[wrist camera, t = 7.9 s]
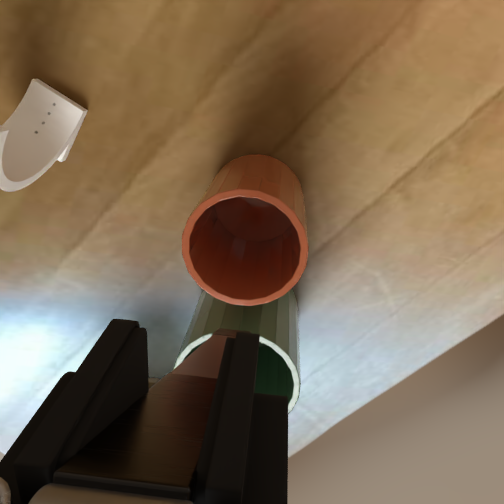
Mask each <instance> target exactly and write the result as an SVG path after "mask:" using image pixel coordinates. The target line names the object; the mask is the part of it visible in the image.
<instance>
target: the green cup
mask: <svg viewBox="0 0 504 504" xmlns="http://www.w3.org/2000/svg"><path fill="white" fill-rule="evenodd" d="M219 328H222V329H232V330H241V331H250V332H251V333H253V334H260V339H259V350H258V360H257V371H256V381H255V392H254V393H262V394H271V395H279V396H288V414H289V413H290V412H291V411H292V409H293V407H294V405H295V404H296V402H297V400H298V398H299V392H300V384H301V383H300V352H299V322H298V307H297V300H296V296H295V294H294V292H293V290H292V288H291V289H290V290H289V291H288V292H287V293H286V294H285V295H283V296H281V297H279V298H277V299H275V300H273V301H271V302H268V303H264V304H259V305H253V306H245V305H235V304H230V303H227V302H225V301H222V300H219V299H217V298H215V297H213V296H211V295H210V294H209V293H207V292H206V291H205V290H203V291H202V294H201V296H200V299H199V302H198V304H197V307H196V310H195V312H194V315H193V318H192V320H191V323H190V325H189V328H188V331H187V333H186V336H185V339H184V341H183V344H182V347H181V349H180V352H179V354H178V357H177V360H176V363H175V365H174V368H173V370H174V369H175V368H176V367H177V366H178V365H179V364H180V363H182V362H183V361H184V360H185V359H186V358H187V357H188V356H189V355H191V354H192V353H193V352H194V351H195V350H196V349H197V348H198V347H200V346H201V345H202V344H203V343H204V342H205V341H206V340H208V339H209V338H210V337H211V336H212V334H213V333H214V332H215V331H216V330H217V329H219Z"/></svg>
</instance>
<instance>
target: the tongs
mask: <svg viewBox="0 0 504 504" xmlns="http://www.w3.org/2000/svg"><path fill="white" fill-rule="evenodd" d="M237 332H244V333H251V332H250V331H241V330H232V329H222V328H219V329H217V330H216V331H215V332H214V333H213V334H212V336H211V337H210V338H209V339H208V340H206V341H205V342H204V343H203V344H202V345H201V346H200V347H198V348H197V349H196V350H195V351H194V352H193V353H192V354H191V355H189V356H188V357H187V358H186V359H185V360H184V361H183V362H182V363H180V364H179V365H178V366H177V367H176V368H175V369H174V370H173V371H171V372H170V373H168V374H166V375H165V376H164V377H163V378H161V379H160V380H159V381H158V382H157V383H156V384H154V385H153V386H152V387H151V388H150V389H149V390H148V391H147V392H146V393H145V394H144V395H142V396H141V397H140V398H139V399H138V400H137V401H136V402H134V403H133V404H132V405H131V406H130V407H129V408H128V409H126V410H125V411H124V412H123V413H122V414H121V415H120V416H118V417H117V418H116V419H115V420H114V421H113V422H112V423H110V424H109V425H108V426H107V427H106V428H105V429H104V430H102V431H101V432H100V433H99V434H98V435H97V436H96V437H94V438H93V439H92V440H91V441H90V442H89V443H88V444H86V445H85V446H84V447H83V448H82V449H81V450H80V451H78V452H77V453H76V454H75V455H73V456H72V457H70V458H69V459H68V460H67V461H66V462H65V463H64V464H62V465H61V466H60V467H59V468H58V469H57V470H55V472H54V474H53V480H52V483H50V484H47V485H45V486H43V487H42V488H40V489H39V490H38V491H37V492H36V494H35V495H34V496H33V497H32V499H31V500H30V502H29V503H28V504H195V493H196V484H197V477H198V475H197V470H196V468H197V464H198V459H199V455H200V451H201V446H202V442H203V438H204V433H205V429H206V425H207V420H208V416H209V412H210V408H211V403H212V399H213V395H214V390H215V386H216V382H217V377H218V373H219V369H220V364H221V360H222V356H223V352H224V347H225V343H226V339H227V337H231V338H236V333H237Z"/></svg>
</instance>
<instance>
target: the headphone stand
mask: <svg viewBox="0 0 504 504" xmlns="http://www.w3.org/2000/svg"><path fill="white" fill-rule="evenodd" d="M87 111H88V110H87V109H85V108H83V107H82V106H80V105H79V104H77V103H75V102H74V101H72V100H71V99H69V98H68V97H66V96H64V95H63V94H61V93H60V92H58V91H57V90H55V89H53V88H52V87H50V86H49V85H47V84H45V83H44V82H42V81H41V80H39V79H32V81H31V83H30V85H29V88H28V90H27V92H26V94H25V95H24V97H23V99H22V101H21V102H20V104H19V105H18V107H17V108H16V110H15V111H14V112H13V114H12V115H11V116H10V117H9V119H8V120H7V121H6V122H5V123H4V124H3V125H2V126H1V125H0V189H1V190H3V191H7V192H12V191H17V190H20V189H22V188H24V187H26V186H28V185H30V184H31V183H33V182H34V181H35V180H37V179H38V178H39V177H40V176H42V175H43V174H44V173H45V172H46V171H47V170H48V169H49V168H50V167H51V166H52V165H53V164H54V162H55V161H56V160H58V161H60V162H62V161H65V160H66V158H67V156H68V154H69V151H70V149H71V147H72V145H73V142H74V140H75V138H76V136H77V134H78V131H79V129H80V127H81V125H82V122H83V120H84V118H85V116H86V113H87Z"/></svg>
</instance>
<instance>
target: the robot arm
mask: <svg viewBox="0 0 504 504" xmlns="http://www.w3.org/2000/svg"><path fill="white" fill-rule="evenodd" d="M259 339H260V334H253V333H244V332H237V333H236V338H231V337H227V339H226V343H225V347H224V352H223V356H222V360H221V364H220V369H219V373H218V377H217V382H216V386H215V390H214V395H213V399H212V403H211V408H210V412H209V416H208V420H207V425H206V429H205V433H204V438H203V442H202V446H201V451H200V455H199V459H198V464H197V468H196V470H197V475H198V477H197V484H196V493H195V504H287V477H288V476H287V475H288V473H287V472H288V469H287V468H288V396H279V395H271V394H262V393H254V392H255V381H256V371H257V360H258V350H259ZM148 390H149V380H148V350H147V331H146V329H145V328H140V325H139V322H138V321H132V320H123V319H113V320H112V321H111V322H110V323H109V325H108V326H107V328H106V329H105V330H104V332H103V333H102V335H101V336H100V338H99V339H98V341H97V342H96V344H95V345H94V346H93V348H92V349H91V351H90V352H89V354H88V355H87V357H86V358H85V360H84V361H83V362H82V364H81V365H80V367H79V368H78V370H77V371H76V372H67V373H65V374H64V375H63V376H62V377H61V378H60V380H59V381H58V383H57V384H56V385H55V387H54V388H53V389H52V391H51V392H50V394H49V395H48V396H47V398H46V399H45V401H44V402H43V403H42V405H41V406H40V408H39V409H38V410H37V412H36V413H35V414H34V416H33V417H32V419H31V420H30V421H29V423H28V424H27V426H26V427H25V428H24V430H23V431H22V432H21V434H20V435H19V437H18V438H17V439H16V441H15V442H14V444H13V445H12V446H11V448H10V449H9V450H8V452H7V453H6V455H5V456H4V457H3V459H2V460H1V462H0V504H28V503H29V502H30V500H31V499H32V497H33V496H34V495H35V494H36V492H37V491H38V490H39V489H40V488H42V487H43V486H45V485H47V484H50V483H52V480H53V474H54V472H55V470H57V469H58V468H59V467H60V466H61V465H62V464H64V463H65V462H66V461H67V460H68V459H69V458H70V457H72V456H73V455H75V454H76V453H77V452H78V451H80V450H81V449H82V448H83V447H84V446H85V445H86V444H88V443H89V442H90V441H91V440H92V439H93V438H94V437H96V436H97V435H98V434H99V433H100V432H101V431H102V430H104V429H105V428H106V427H107V426H108V425H109V424H110V423H112V422H113V421H114V420H115V419H116V418H117V417H118V416H120V415H121V414H122V413H123V412H124V411H125V410H126V409H128V408H129V407H130V406H131V405H132V404H133V403H134V402H136V401H137V400H138V399H139V398H140V397H141V396H142V395H144V394H145V393H146V392H147V391H148Z"/></svg>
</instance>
